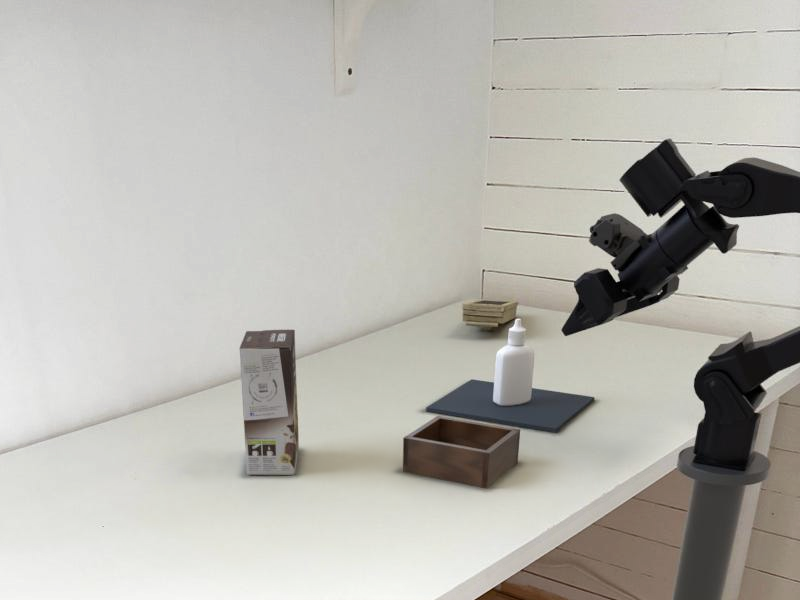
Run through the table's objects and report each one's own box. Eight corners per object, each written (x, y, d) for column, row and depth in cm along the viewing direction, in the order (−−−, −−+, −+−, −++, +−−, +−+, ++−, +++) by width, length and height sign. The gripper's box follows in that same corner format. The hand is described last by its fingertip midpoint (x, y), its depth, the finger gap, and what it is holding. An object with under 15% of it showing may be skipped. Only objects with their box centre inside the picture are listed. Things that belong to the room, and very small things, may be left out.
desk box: (517, 463, 127) (520, 429, 124) (487, 488, 120) (489, 453, 117) (436, 448, 132) (437, 415, 130) (402, 471, 125) (403, 437, 123)
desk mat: (594, 400, 148) (594, 396, 147) (555, 432, 136) (556, 428, 136) (471, 382, 157) (471, 379, 157) (425, 411, 145) (425, 407, 145)
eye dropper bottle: (491, 397, 148) (497, 315, 142) (529, 397, 148) (536, 315, 141) (493, 406, 144) (499, 323, 138) (532, 407, 144) (539, 323, 138)
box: (459, 332, 178) (462, 303, 177) (475, 324, 199) (478, 297, 197) (505, 335, 176) (508, 305, 175) (517, 326, 197) (520, 300, 195)
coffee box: (296, 475, 125) (291, 346, 117) (245, 475, 125) (237, 347, 117) (300, 450, 133) (296, 327, 124) (252, 450, 133) (245, 328, 125)
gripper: (671, 184, 126) (583, 265, 138) (597, 201, 114) (509, 288, 126) (719, 255, 125) (628, 331, 138) (651, 280, 114) (557, 360, 126)
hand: (581, 326), depth 132 cm, fingers open, 9 cm apart
